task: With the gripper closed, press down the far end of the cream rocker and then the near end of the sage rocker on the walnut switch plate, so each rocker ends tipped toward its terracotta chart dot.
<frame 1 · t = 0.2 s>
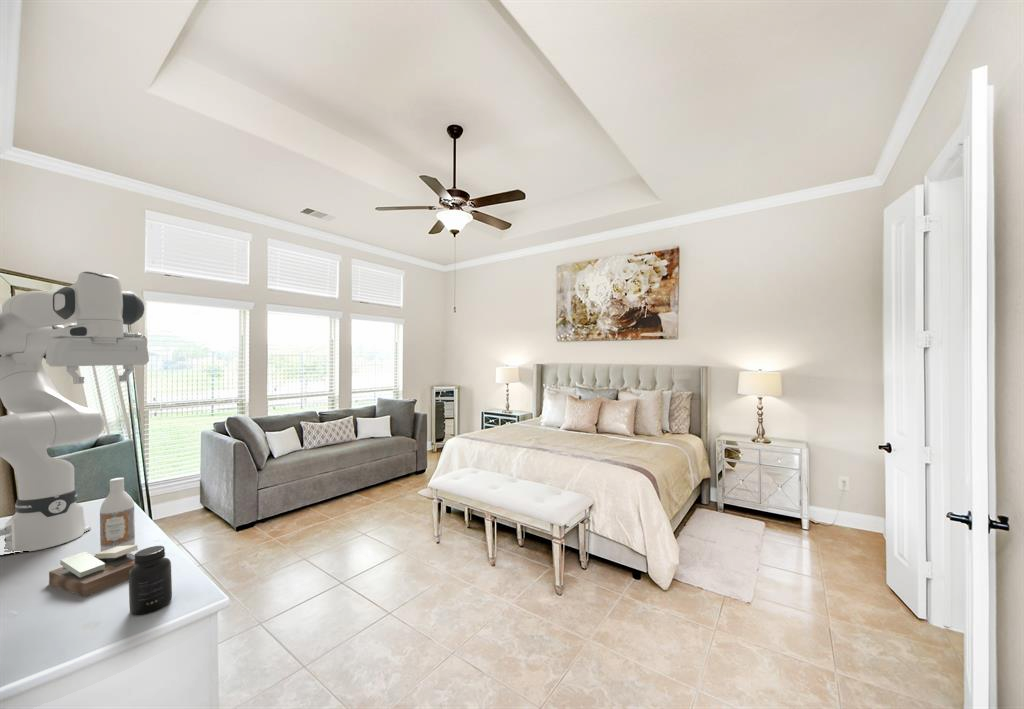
hand: (102, 382, 110), 47 cm above the table, tool pointing down, fingers open, 8 cm apart
cream rocker: (116, 551, 103), point 5 cm above the table, hinge at -10.0°
sage rocker: (82, 564, 97), point 5 cm above the table, hinge at 10.0°
bath foam: (118, 550, 114), on the table
switch plate: (100, 577, 100), on the table
supplement bottle: (151, 607, 87), on the table
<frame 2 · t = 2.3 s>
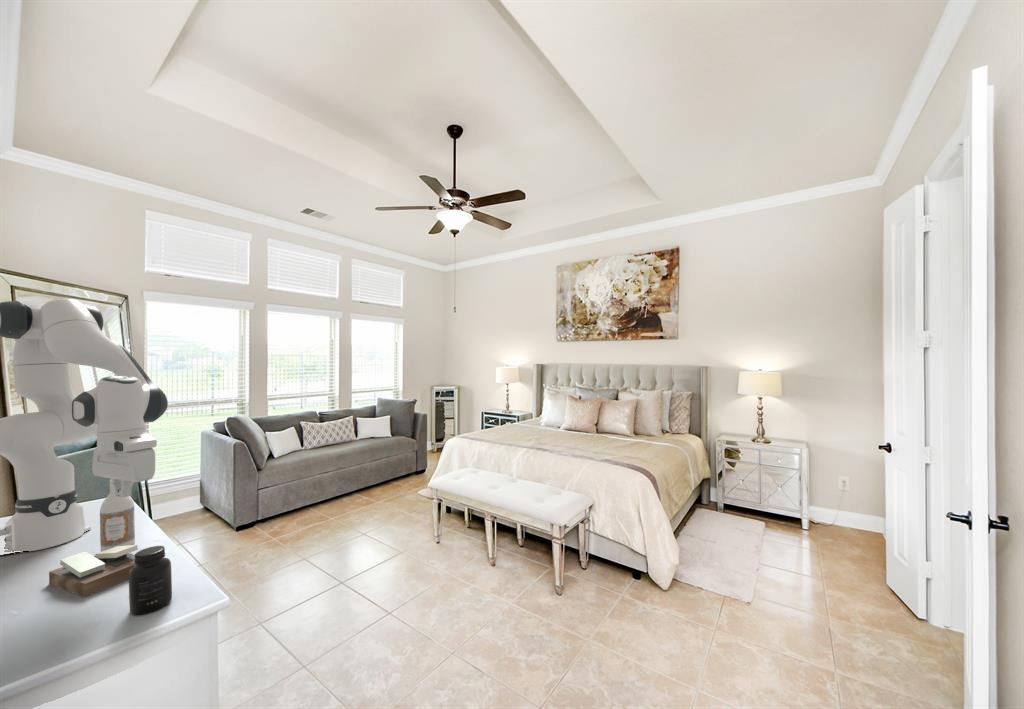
hand: (122, 496, 102), 19 cm above the table, tool pointing down, fingers closed
nothing on the table moved.
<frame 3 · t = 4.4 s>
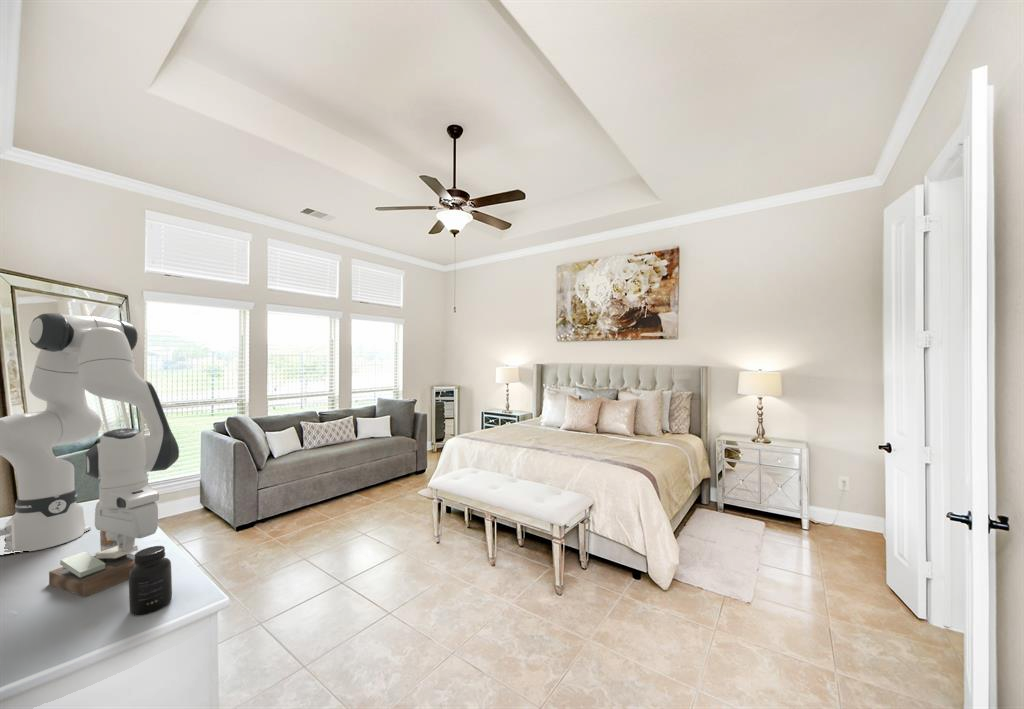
hand: (125, 550, 101), 6 cm above the table, tool pointing down, fingers closed, pressing on cream rocker
cream rocker: (116, 551, 103), point 5 cm above the table, hinge at -8.7°, touching gripper
everything else where it was.
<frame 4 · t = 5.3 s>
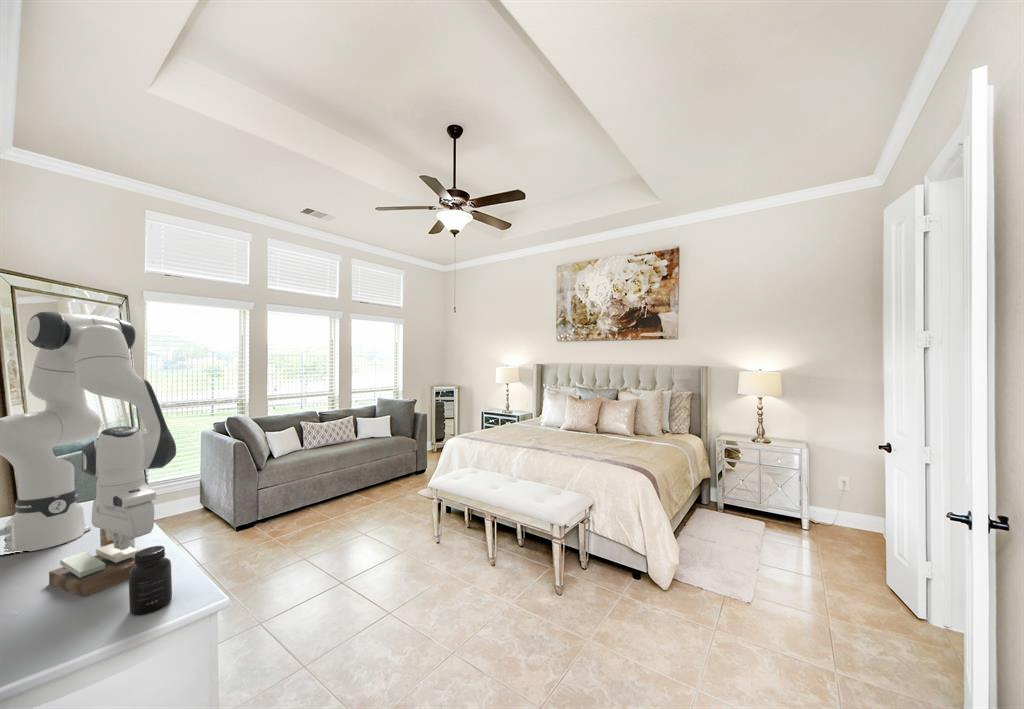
hand: (121, 548, 101), 6 cm above the table, tool pointing down, fingers closed
cream rocker: (117, 551, 103), point 5 cm above the table, hinge at 5.4°
everything else where it was.
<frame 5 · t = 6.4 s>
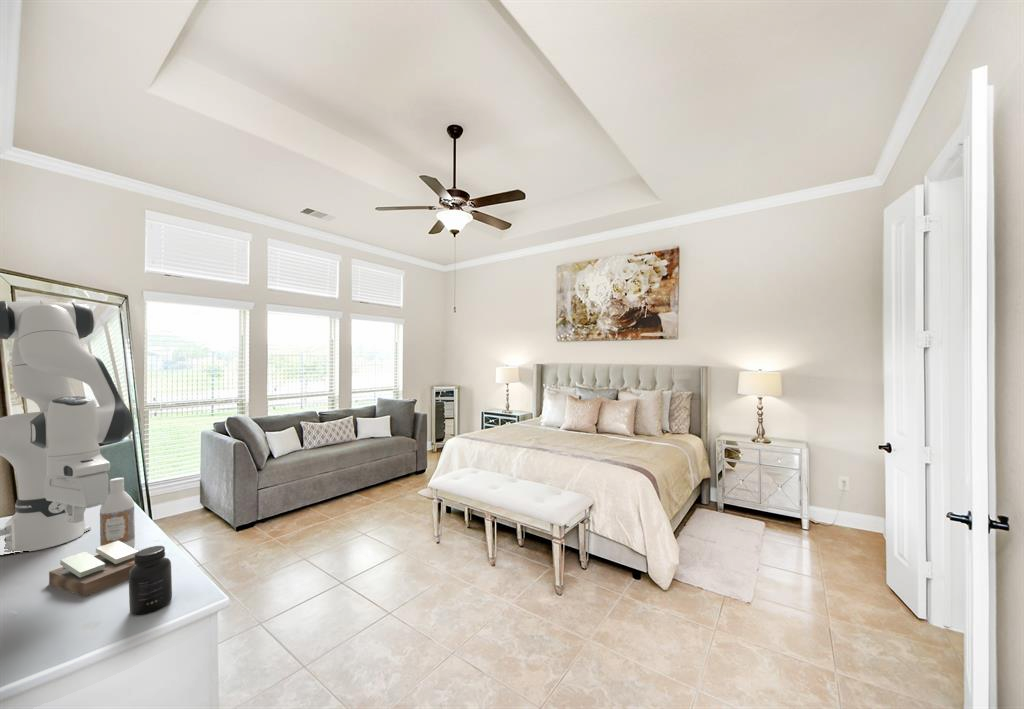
hand: (75, 521, 98), 14 cm above the table, tool pointing down, fingers closed
cream rocker: (117, 551, 103), point 5 cm above the table, hinge at 9.4°
everything else where it was.
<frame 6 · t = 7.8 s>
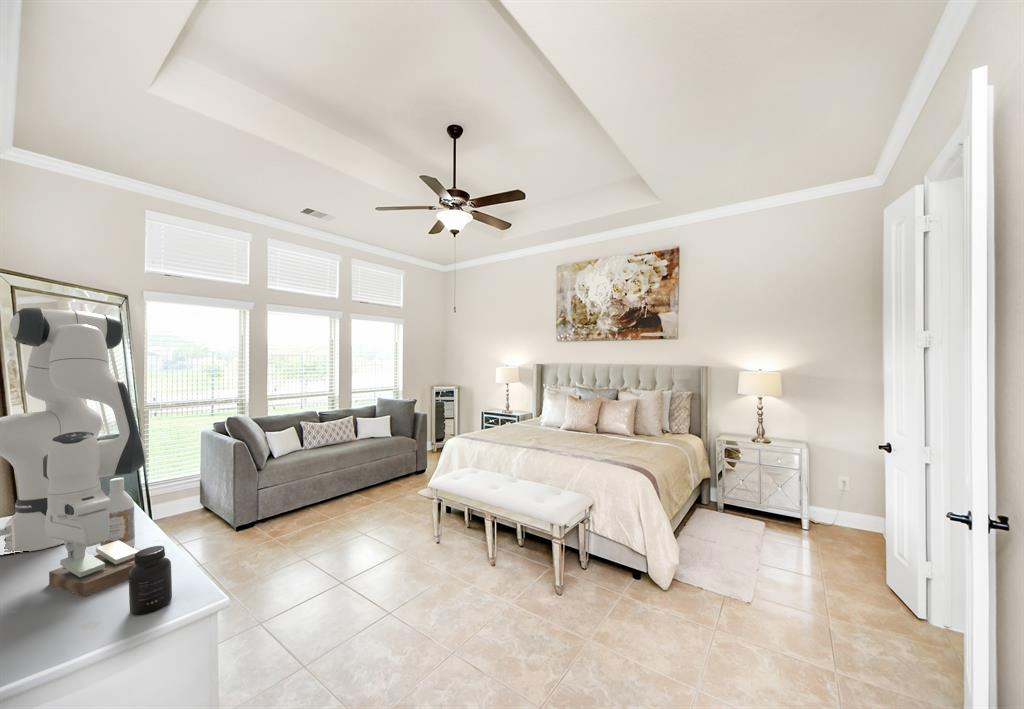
hand: (76, 558, 98), 6 cm above the table, tool pointing down, fingers closed, pressing on sage rocker
cream rocker: (117, 551, 103), point 5 cm above the table, hinge at 10.3°
sage rocker: (82, 564, 97), point 5 cm above the table, hinge at 9.1°, touching gripper
everything else where it was.
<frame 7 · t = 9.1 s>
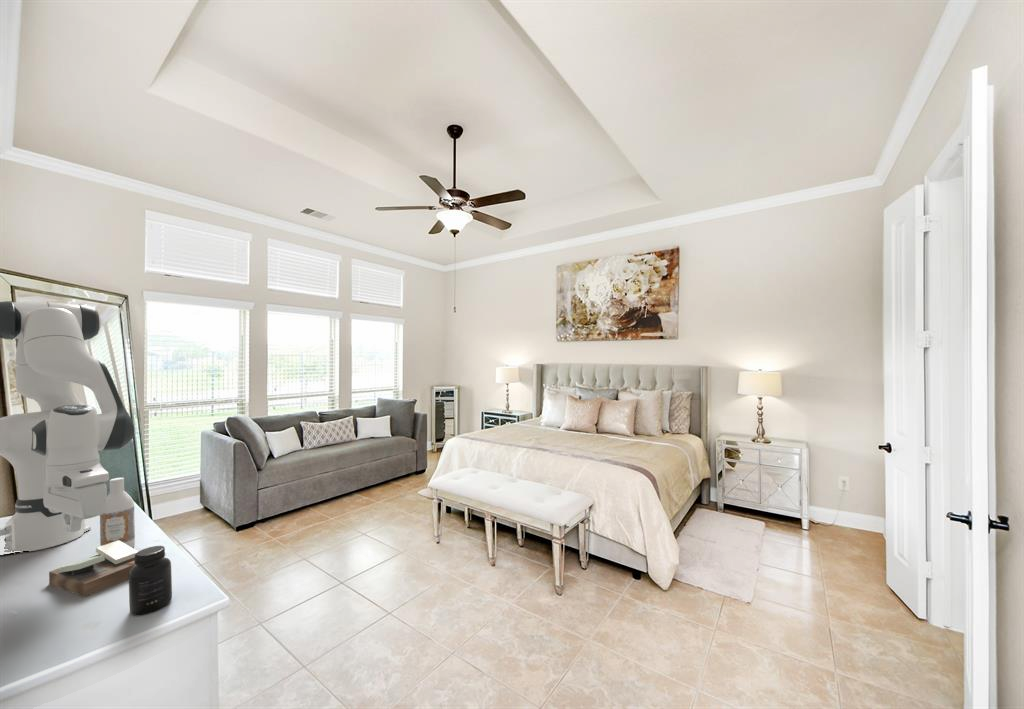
hand: (72, 530, 98), 12 cm above the table, tool pointing down, fingers closed
sage rocker: (82, 563, 97), point 5 cm above the table, hinge at -14.5°, touching switch plate
everything else where it was.
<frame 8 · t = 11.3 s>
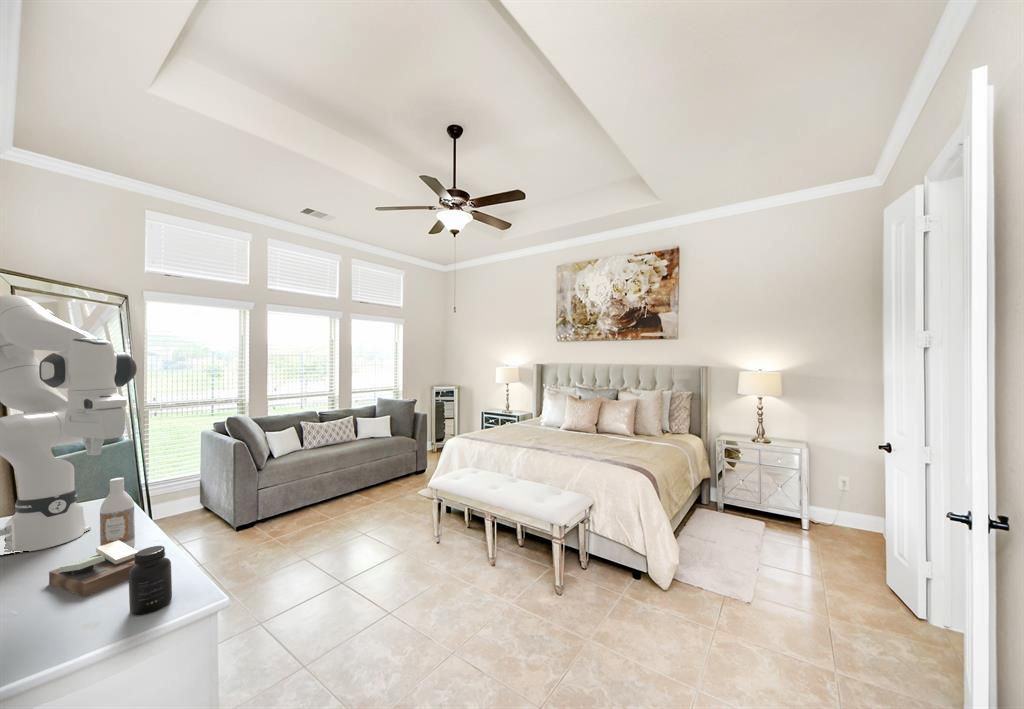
hand: (93, 454, 104), 29 cm above the table, tool pointing down, fingers closed
sage rocker: (82, 563, 97), point 5 cm above the table, hinge at -13.7°
everything else where it was.
at the end: cream rocker at +10° (first picture: -10°); sage rocker at -14° (first picture: +10°) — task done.
